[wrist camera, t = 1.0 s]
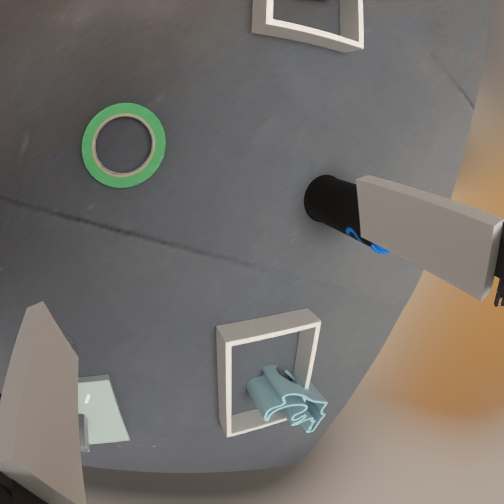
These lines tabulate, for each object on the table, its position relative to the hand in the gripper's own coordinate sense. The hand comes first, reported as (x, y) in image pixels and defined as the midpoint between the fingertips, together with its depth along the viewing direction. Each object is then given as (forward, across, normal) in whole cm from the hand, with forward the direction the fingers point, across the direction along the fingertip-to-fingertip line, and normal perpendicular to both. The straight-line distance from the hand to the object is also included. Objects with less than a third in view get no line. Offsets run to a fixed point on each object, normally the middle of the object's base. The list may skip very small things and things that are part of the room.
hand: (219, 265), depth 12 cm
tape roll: (+35, -2, +4) cm, 35 cm away
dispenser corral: (+34, +8, -44) cm, 56 cm away
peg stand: (+34, -29, -36) cm, 58 cm away
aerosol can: (+34, +27, -14) cm, 45 cm away
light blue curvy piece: (+34, +11, -52) cm, 63 cm away
